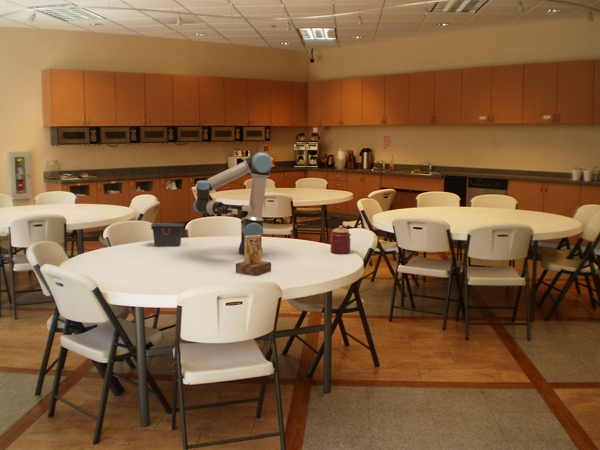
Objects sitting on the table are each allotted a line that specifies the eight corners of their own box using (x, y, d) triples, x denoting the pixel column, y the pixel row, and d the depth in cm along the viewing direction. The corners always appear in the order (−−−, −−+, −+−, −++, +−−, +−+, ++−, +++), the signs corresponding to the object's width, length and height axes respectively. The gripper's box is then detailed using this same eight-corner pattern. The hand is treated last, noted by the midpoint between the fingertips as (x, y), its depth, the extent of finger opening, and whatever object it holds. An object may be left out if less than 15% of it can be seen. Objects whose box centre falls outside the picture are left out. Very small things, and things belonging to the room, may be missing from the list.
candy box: (259, 261, 352) (258, 234, 350) (261, 263, 349) (261, 236, 346) (244, 263, 349) (244, 235, 346) (246, 264, 345) (246, 237, 342)
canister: (327, 253, 402) (327, 226, 400) (334, 249, 414) (334, 223, 412) (346, 255, 398) (347, 227, 395) (353, 251, 409) (353, 224, 407)
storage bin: (184, 243, 433) (184, 222, 430) (182, 247, 417) (182, 226, 415) (153, 243, 430) (152, 223, 428) (150, 248, 415) (149, 226, 413)
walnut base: (235, 272, 348) (235, 263, 347) (251, 267, 359) (251, 259, 358) (256, 275, 340) (256, 266, 339) (271, 271, 352) (271, 262, 351)
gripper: (201, 203, 363) (230, 206, 352) (228, 199, 384) (256, 201, 373) (202, 216, 364) (230, 219, 353) (229, 211, 385) (257, 214, 374)
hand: (244, 210), depth 363 cm, fingers open, 13 cm apart
